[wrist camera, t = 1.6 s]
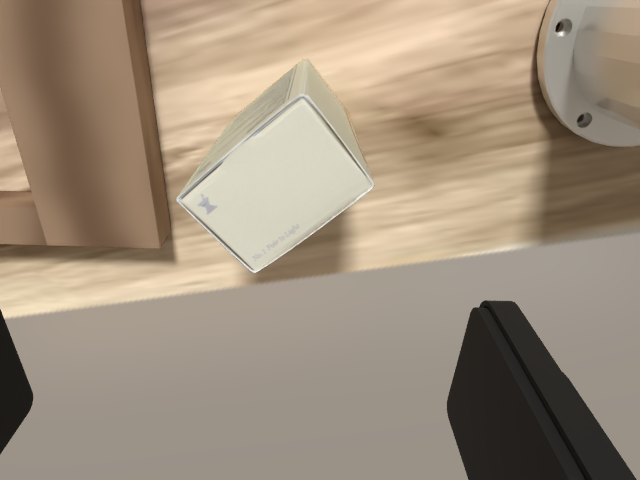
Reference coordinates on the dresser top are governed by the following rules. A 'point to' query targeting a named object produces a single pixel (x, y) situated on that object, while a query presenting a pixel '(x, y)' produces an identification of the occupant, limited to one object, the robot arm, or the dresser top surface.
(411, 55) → the dresser top surface
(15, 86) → the notched board
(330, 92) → the skincare box
